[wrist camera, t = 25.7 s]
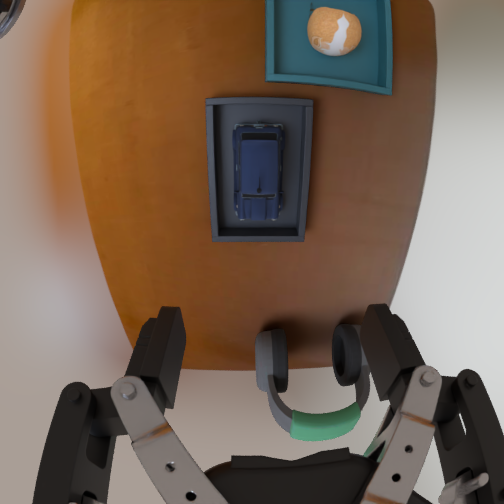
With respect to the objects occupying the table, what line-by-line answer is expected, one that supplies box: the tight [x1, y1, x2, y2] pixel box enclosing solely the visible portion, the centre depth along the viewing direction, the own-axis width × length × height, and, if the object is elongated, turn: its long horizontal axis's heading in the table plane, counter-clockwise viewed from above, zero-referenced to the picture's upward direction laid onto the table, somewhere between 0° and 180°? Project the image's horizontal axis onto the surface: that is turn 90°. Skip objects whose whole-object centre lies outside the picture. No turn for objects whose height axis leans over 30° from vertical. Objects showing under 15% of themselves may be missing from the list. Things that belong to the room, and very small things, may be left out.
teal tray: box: [265, 0, 393, 95], centre depth 24 cm, size 15×15×3 cm
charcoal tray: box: [206, 97, 313, 242], centre depth 33 cm, size 18×12×3 cm, turn 0°
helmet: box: [307, 3, 362, 56], centre depth 22 cm, size 6×7×8 cm
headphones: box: [255, 324, 371, 441], centre depth 41 cm, size 19×11×20 cm, turn 92°
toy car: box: [232, 120, 285, 220], centre depth 31 cm, size 6×12×6 cm, turn 0°
